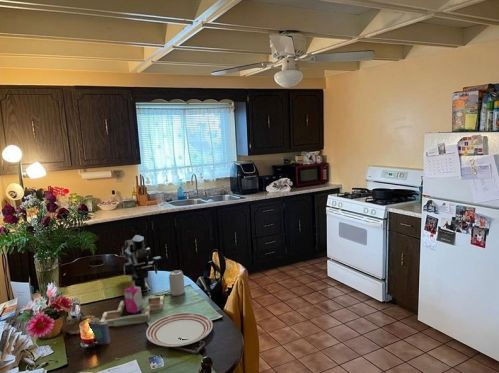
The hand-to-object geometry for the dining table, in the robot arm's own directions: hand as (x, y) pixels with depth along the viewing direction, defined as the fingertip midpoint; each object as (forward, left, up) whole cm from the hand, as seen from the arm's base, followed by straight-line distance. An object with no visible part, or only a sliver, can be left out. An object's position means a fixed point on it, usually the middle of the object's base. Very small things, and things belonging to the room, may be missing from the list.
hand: (147, 275), depth 185 cm
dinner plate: (+36, -4, -16) cm, 39 cm away
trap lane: (+2, -9, -15) cm, 18 cm away
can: (-1, +16, -16) cm, 23 cm away
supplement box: (0, -8, -16) cm, 18 cm away
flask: (+17, -31, -16) cm, 38 cm away
